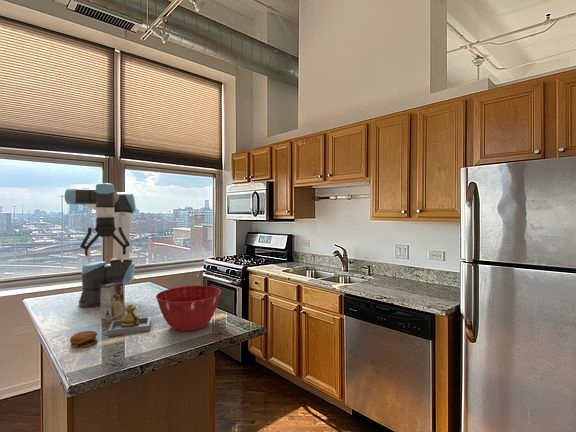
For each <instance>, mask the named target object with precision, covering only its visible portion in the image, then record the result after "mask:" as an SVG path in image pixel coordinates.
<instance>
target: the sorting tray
mask: <svg viewBox="0 0 576 432" xmlns="http://www.w3.org/2000/svg"><path fill="white" fill-rule="evenodd" d="M138 321H139V326H134V327H125V328H121V323H122V322H121V319H114V320H111V323H110V326H109V327H108V329H107V335H108V337H113V336H120V335H128V334H129V335H130V334H137V333H146V332H150V329H151V328H150V327H151V316H143V317H139V320H138Z"/></svg>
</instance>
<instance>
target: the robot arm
mask: <svg viewBox="0 0 576 432" xmlns="http://www.w3.org/2000/svg"><path fill="white" fill-rule="evenodd" d="M64 201H65V203H66V204H68V205H80V206H85V207H88V208H89V209H91V210H94V211H95V216H96V218H95V227H88V228H87V233H86V235H85V236H84V239H83V240H82V242H81V243H80V249H83V250H84V256H85V257H87V264H84V265H82V268H81V289H82V290H81V294H80V297H79V300H78V307H81V308H94V307H101V300H100V286H104V285H107V284H110V283H123V285H125V284H130V283H131V282H132V281H133V279H134V275H135V270H136V263H135V262H133V259H132V257H130V250H131V247H130V246H131V244H130V243H131V240H130V239H131V238H130V236H131V234H130V233H131V217H132V216H133V215H134V213H135V212H136V211H137V208H136V199H135V196H134V194H133V193H132V192H125V191H123V192H122V191H121V192H120V191H119V192H118V191H116V190H115V185H114V184H112V183H107V182H104V183H101V182H100V183H96V184H95V188H73V187H72V188H67V189H66V190H65V191H64ZM94 232H96V234H95V236H93V238H92V239H91V240H90V237H91V235H92V233H94ZM99 237H101V238H107V237H108V238H110V237H112V238H113V245H112V246H113V248H112V249H113V251H112V253H113V254H112V258H111V259H110V260H109V263H107V262H106V261H103V260H102V261H95V262H92V254H91V253H92V249H91V246H92V245H93V244H94V243H95V242H96V241H97V240H98V239H99ZM88 240H90V241H89V242H88ZM87 242H88V243H87Z"/></svg>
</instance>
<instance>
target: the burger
mask: <svg viewBox="0 0 576 432" xmlns="http://www.w3.org/2000/svg"><path fill="white" fill-rule="evenodd" d="M97 336H98V332H97V331H94V330H84V331H79V332H77V333H74V334H73V335H72V336H70V339H69V343H70V347H71V348H81V349H82V348H87V347H90V346H93V345H94V344H97V343H98V338H97Z"/></svg>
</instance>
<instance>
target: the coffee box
mask: <svg viewBox="0 0 576 432" xmlns="http://www.w3.org/2000/svg"><path fill="white" fill-rule="evenodd" d="M124 287H125V286H124V284H123V283H110V284H106V285H104V286H100V300H101V306H100V319H101V320H111V321H113V319H114V320H115V319H116V318H118V317H121V316H123V315H124V314H125V310H124V308H125V296H124V295H125V294H124V293H125V292H124Z"/></svg>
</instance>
